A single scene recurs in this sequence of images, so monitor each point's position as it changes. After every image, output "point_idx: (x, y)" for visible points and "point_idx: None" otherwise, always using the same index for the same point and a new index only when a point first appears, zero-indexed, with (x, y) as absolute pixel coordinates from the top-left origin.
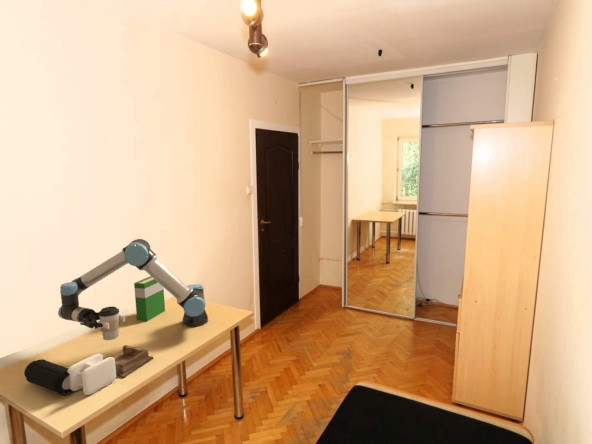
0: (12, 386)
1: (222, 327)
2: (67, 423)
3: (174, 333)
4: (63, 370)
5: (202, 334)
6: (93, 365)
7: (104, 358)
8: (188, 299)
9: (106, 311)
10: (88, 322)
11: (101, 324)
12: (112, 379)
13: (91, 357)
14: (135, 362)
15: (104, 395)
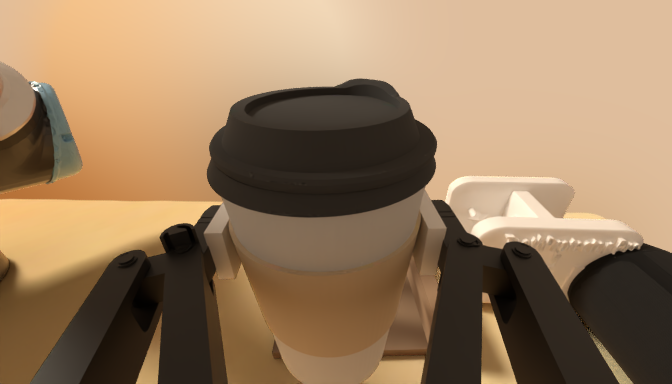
0: None
1: (67, 205)
2: (589, 218)
3: (59, 303)
4: (668, 257)
5: (112, 222)
6: (533, 180)
7: (431, 307)
8: (40, 92)
9: (386, 90)
10: (561, 299)
11: (435, 201)
12: None
13: (529, 218)
14: None
15: None
